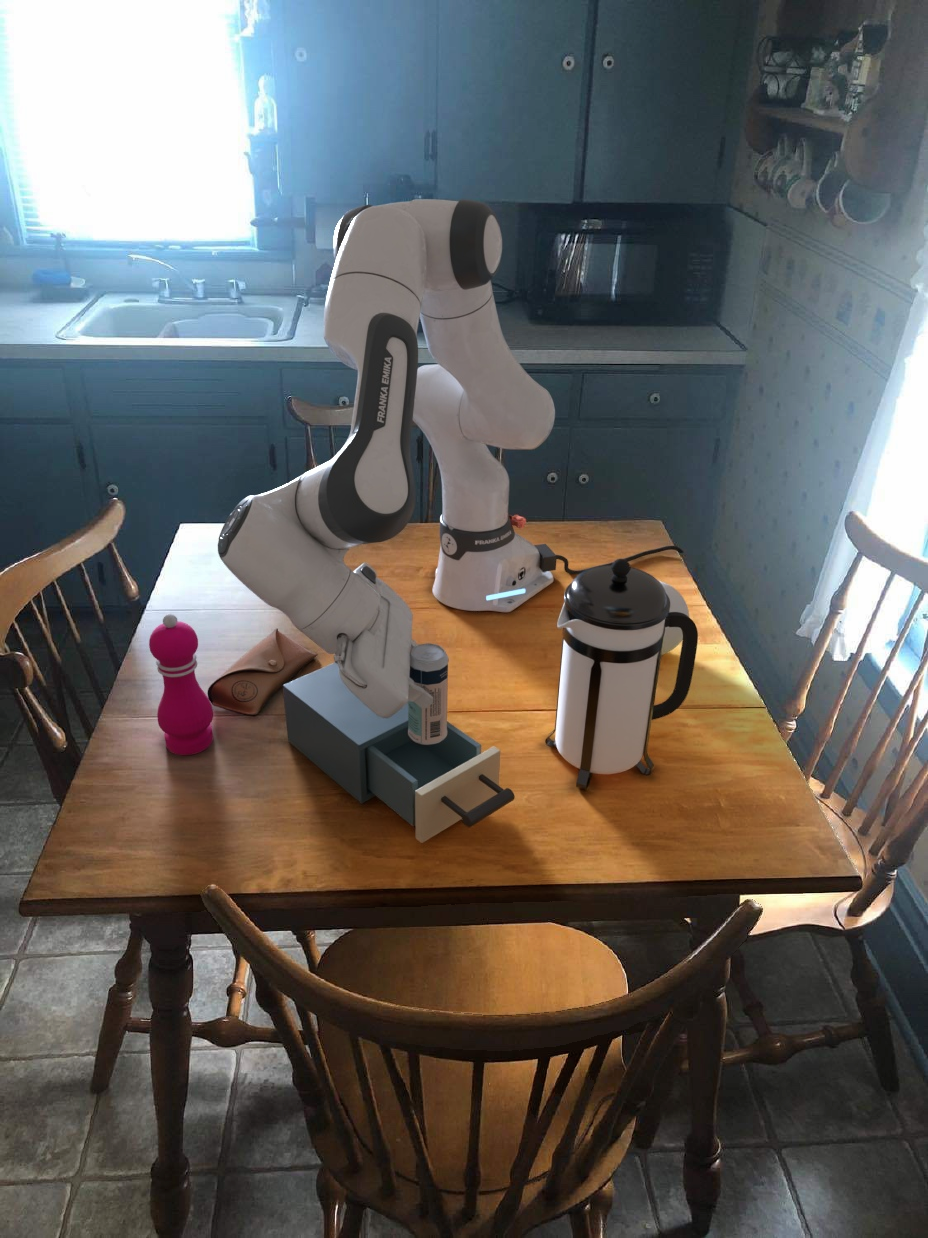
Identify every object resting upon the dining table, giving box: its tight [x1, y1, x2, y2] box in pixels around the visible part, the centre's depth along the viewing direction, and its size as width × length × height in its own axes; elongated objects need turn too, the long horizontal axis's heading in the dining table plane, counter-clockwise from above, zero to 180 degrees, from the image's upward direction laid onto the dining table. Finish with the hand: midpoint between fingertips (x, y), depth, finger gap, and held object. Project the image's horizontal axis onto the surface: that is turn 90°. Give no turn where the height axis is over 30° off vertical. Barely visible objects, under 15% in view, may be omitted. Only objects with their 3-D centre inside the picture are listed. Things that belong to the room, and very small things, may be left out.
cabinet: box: [282, 662, 408, 805], centre depth 126 cm, size 17×14×9 cm
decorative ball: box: [658, 580, 690, 656], centre depth 148 cm, size 12×12×12 cm
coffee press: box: [544, 558, 699, 791], centre depth 121 cm, size 17×16×30 cm
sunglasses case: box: [206, 627, 319, 716], centre depth 141 cm, size 18×7×7 cm
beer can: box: [408, 642, 450, 745], centre depth 112 cm, size 5×5×12 cm
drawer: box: [365, 720, 516, 844], centre depth 117 cm, size 21×13×7 cm, turn 42°
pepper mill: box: [148, 613, 215, 756], centre depth 124 cm, size 7×7×20 cm
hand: (429, 686), depth 111 cm, fingers closed on beer can, 5 cm apart
